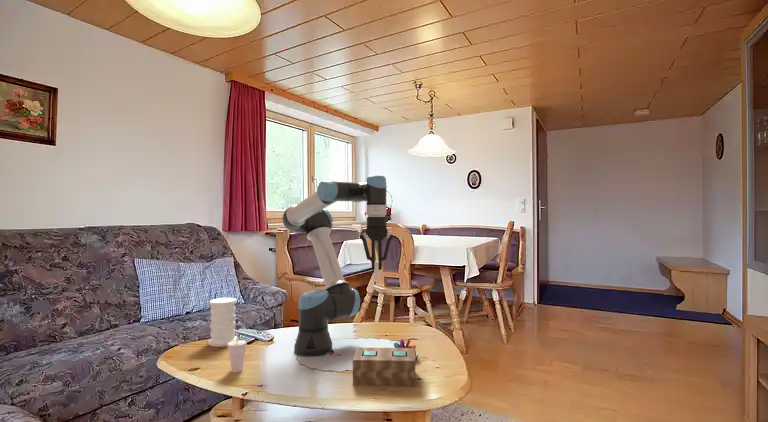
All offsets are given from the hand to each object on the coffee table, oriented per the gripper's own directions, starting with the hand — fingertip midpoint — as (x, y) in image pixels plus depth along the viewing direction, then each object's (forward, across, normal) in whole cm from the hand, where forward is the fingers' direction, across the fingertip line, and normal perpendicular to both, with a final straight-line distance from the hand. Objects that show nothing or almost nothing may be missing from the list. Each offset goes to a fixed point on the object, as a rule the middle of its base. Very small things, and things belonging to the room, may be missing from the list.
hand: (376, 278), depth 149 cm
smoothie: (+31, -49, -13) cm, 59 cm away
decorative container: (+31, -68, +18) cm, 76 cm away
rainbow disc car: (+31, +10, +1) cm, 32 cm away
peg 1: (+30, -1, -17) cm, 35 cm away
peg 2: (+30, +9, -17) cm, 36 cm away
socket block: (+30, +4, -17) cm, 35 cm away
